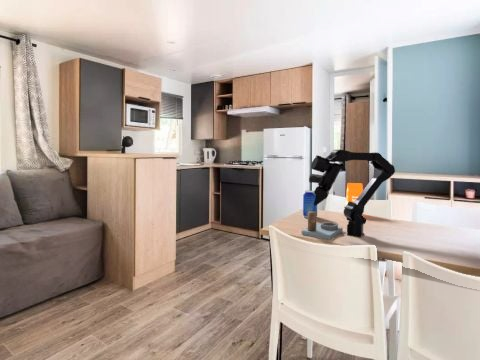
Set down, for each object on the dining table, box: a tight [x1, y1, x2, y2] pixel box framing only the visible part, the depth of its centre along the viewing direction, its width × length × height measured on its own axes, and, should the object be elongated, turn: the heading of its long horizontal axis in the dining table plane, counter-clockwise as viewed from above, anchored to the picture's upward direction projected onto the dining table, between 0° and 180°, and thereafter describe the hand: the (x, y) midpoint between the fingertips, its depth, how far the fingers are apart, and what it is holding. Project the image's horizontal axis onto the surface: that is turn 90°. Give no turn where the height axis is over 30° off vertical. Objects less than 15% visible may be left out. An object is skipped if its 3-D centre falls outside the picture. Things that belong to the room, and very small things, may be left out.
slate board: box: [301, 221, 344, 240], centre depth 149 cm, size 14×17×4 cm
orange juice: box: [345, 182, 364, 206], centre depth 190 cm, size 8×9×20 cm
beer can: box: [302, 190, 318, 219], centre depth 183 cm, size 8×8×16 cm
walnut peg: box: [307, 211, 318, 232], centre depth 147 cm, size 4×4×9 cm
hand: (316, 202), depth 149 cm, fingers open, 9 cm apart
